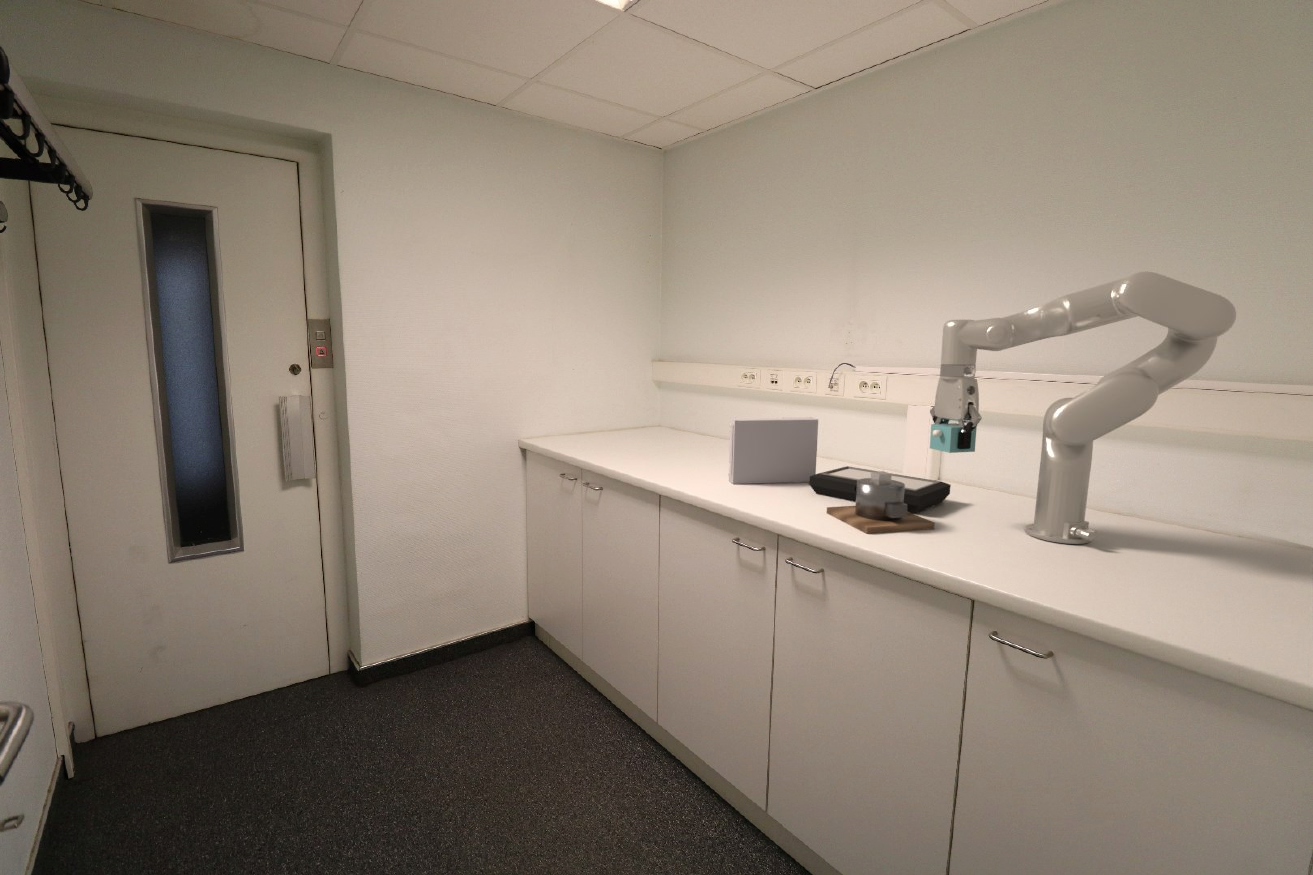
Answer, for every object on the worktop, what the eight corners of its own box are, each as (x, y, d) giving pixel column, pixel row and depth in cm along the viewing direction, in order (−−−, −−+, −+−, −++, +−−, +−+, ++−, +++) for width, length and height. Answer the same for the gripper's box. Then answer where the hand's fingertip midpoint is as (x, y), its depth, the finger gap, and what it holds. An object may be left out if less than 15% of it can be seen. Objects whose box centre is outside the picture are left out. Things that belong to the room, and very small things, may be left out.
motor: (919, 522, 145) (922, 478, 144) (878, 525, 143) (880, 480, 141) (884, 507, 158) (887, 467, 157) (846, 510, 156) (848, 469, 154)
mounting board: (934, 528, 145) (934, 522, 145) (866, 533, 141) (867, 527, 141) (888, 509, 163) (888, 503, 162) (826, 512, 158) (826, 507, 158)
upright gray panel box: (727, 480, 196) (728, 418, 193) (807, 478, 200) (810, 417, 198) (732, 484, 190) (734, 420, 187) (815, 481, 195) (818, 419, 192)
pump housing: (974, 451, 147) (976, 426, 146) (943, 453, 145) (945, 427, 144) (953, 447, 153) (955, 423, 152) (924, 448, 151) (925, 424, 150)
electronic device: (809, 473, 178) (845, 464, 192) (808, 494, 179) (844, 484, 193) (919, 493, 155) (950, 481, 169) (917, 517, 156) (949, 503, 170)
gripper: (999, 373, 139) (992, 451, 142) (945, 371, 156) (940, 440, 158) (971, 374, 137) (965, 452, 140) (919, 371, 154) (915, 441, 156)
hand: (952, 445), depth 149 cm, fingers closed on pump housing, 7 cm apart
